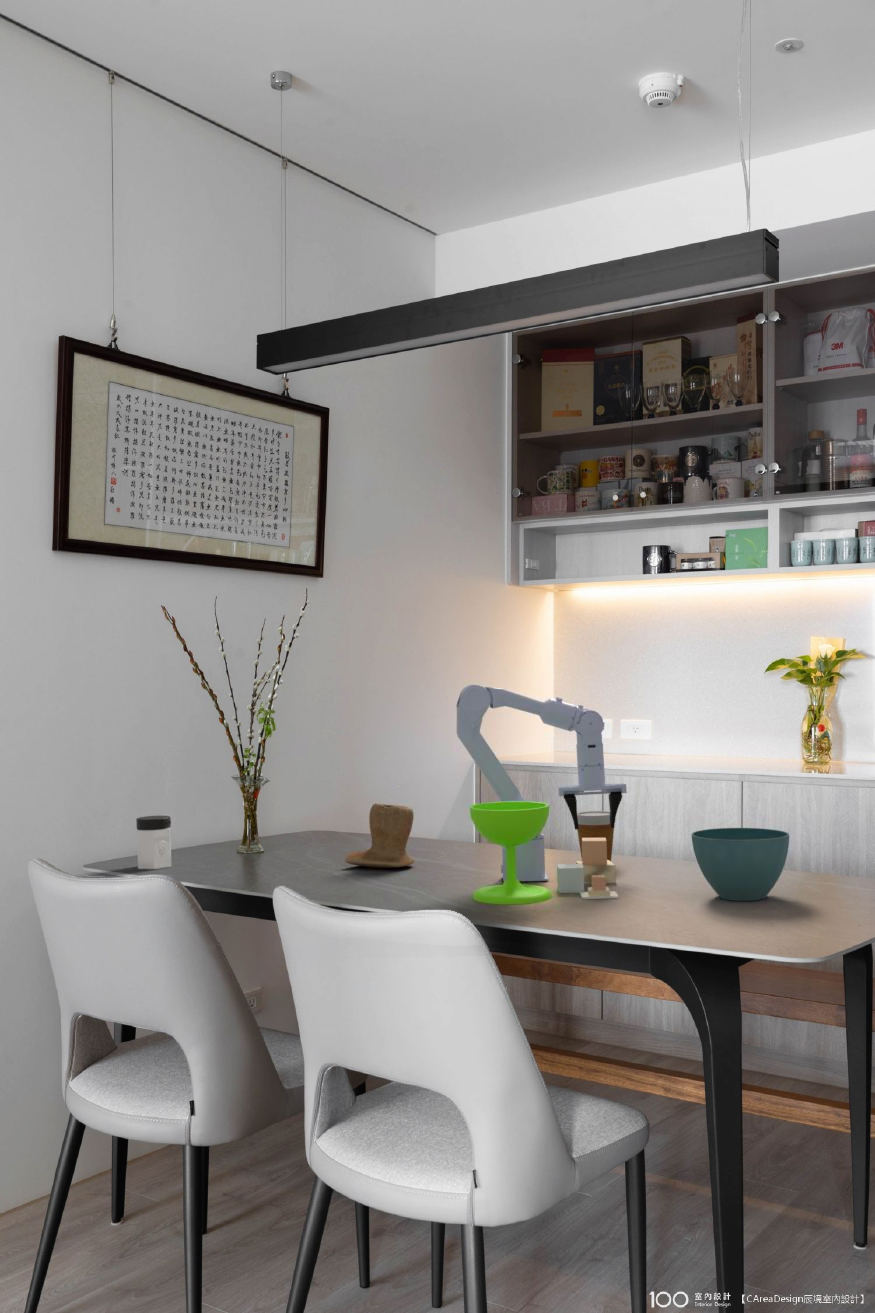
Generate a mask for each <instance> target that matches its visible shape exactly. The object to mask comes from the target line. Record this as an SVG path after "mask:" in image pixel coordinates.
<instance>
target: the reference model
mask: <svg viewBox="0 0 875 1313" xmlns="http://www.w3.org/2000/svg"><path fill="white" fill-rule="evenodd" d="M591 879H592V884H591V887H589V886H588V887H587V891H584V892H580V893H579V894H580V897H581V899H582V900H595V899H596V900H599V899H606V900H607V899H619V895H618V894H617V893H618V892H616V891H613V890H612V891H611V890H610V888H609V887H608V886H606V884H607V883H606V880H605V876H604V875H591Z"/></svg>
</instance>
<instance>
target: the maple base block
mask: <svg viewBox="0 0 875 1313" xmlns="http://www.w3.org/2000/svg"><path fill="white" fill-rule="evenodd" d="M575 864H582V866H583V870H584V885H592V879H591V875H604V876H605V880H606V884H617V873H616V868H617V867H616V864H614V863H613V862H612V860H611V861H609V860H607V865H583V862H582V860H576V861H575Z"/></svg>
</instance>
